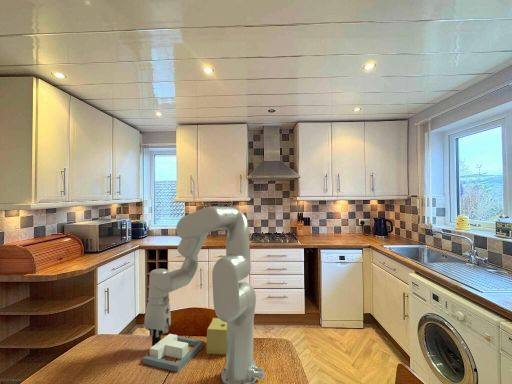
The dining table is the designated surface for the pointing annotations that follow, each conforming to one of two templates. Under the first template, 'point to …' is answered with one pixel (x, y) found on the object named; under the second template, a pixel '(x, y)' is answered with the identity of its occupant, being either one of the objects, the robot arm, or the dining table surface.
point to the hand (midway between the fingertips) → (156, 345)
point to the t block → (169, 348)
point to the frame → (182, 362)
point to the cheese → (216, 337)
